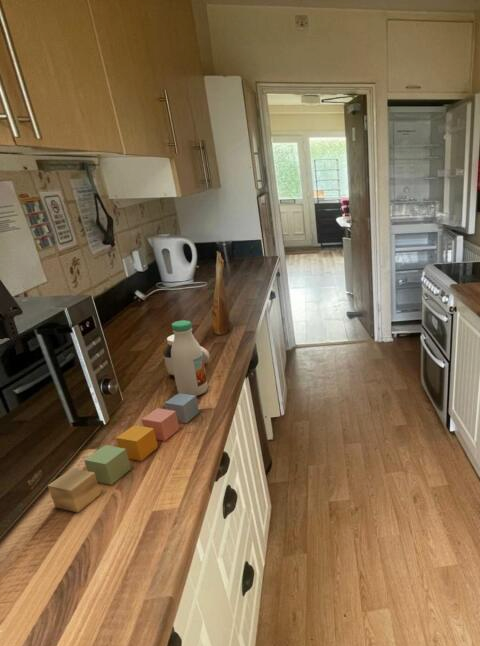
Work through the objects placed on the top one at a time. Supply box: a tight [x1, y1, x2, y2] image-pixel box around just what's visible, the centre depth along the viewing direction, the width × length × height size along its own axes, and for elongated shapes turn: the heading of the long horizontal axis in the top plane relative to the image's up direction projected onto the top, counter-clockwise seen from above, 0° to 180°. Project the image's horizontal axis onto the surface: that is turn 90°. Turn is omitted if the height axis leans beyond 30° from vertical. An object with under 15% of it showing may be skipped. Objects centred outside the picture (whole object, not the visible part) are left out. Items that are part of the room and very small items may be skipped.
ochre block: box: [116, 424, 159, 462], centre depth 92 cm, size 5×5×5 cm
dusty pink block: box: [141, 407, 180, 442], centre depth 98 cm, size 5×5×5 cm
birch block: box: [47, 467, 102, 513], centre depth 78 cm, size 5×5×5 cm
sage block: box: [83, 444, 132, 486], centre depth 85 cm, size 5×5×5 cm
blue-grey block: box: [164, 392, 200, 424], centre depth 105 cm, size 5×5×5 cm
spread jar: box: [163, 334, 211, 378], centre depth 127 cm, size 12×11×12 cm
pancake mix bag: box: [212, 250, 230, 336], centre depth 158 cm, size 7×19×28 cm, turn 16°
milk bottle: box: [171, 319, 209, 397], centre depth 114 cm, size 8×8×20 cm
